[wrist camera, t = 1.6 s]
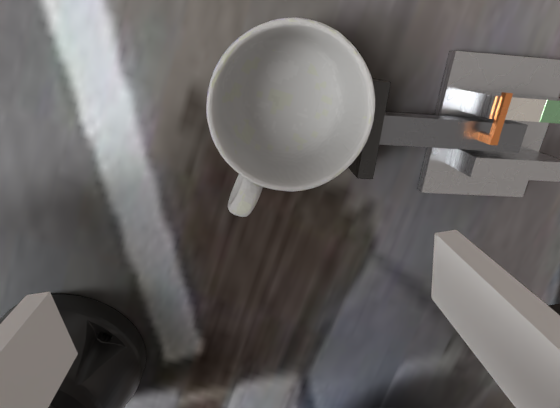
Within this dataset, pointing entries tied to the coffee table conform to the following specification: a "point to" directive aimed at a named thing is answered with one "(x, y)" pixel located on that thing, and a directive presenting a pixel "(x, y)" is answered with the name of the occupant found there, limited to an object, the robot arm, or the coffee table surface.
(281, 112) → the teacup
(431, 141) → the hammer
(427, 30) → the coffee table surface
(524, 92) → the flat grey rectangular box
